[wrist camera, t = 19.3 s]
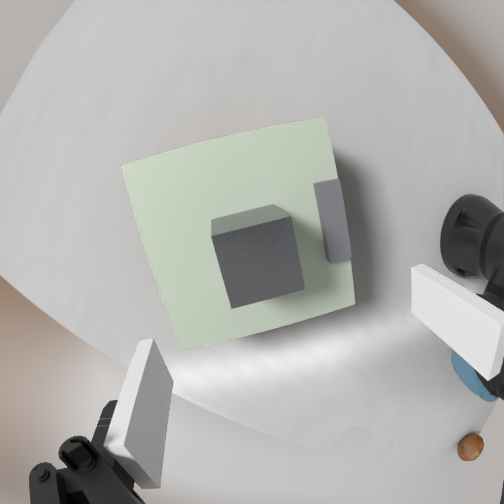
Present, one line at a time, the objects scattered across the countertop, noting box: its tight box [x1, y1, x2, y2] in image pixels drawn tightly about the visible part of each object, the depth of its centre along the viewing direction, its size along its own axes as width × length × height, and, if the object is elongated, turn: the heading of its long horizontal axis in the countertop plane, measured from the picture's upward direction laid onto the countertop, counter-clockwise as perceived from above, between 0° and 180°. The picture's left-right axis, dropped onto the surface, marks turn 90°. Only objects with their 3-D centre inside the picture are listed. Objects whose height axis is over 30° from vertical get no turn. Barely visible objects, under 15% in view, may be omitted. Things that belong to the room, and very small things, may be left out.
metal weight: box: [211, 204, 305, 309], centre depth 27 cm, size 6×6×7 cm
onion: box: [457, 434, 484, 461], centre depth 65 cm, size 10×10×10 cm
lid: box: [121, 117, 355, 351], centre depth 30 cm, size 20×20×3 cm
